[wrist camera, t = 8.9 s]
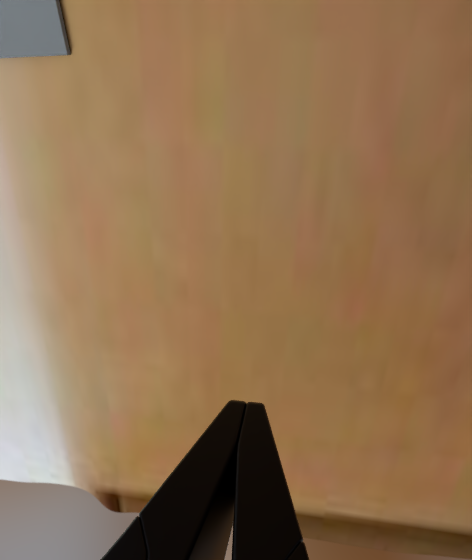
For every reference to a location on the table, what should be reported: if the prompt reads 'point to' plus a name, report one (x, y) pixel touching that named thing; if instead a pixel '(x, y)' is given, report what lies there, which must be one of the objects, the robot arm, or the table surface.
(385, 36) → the table surface
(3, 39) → the mat
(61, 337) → the table surface
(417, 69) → the table surface
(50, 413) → the table surface
